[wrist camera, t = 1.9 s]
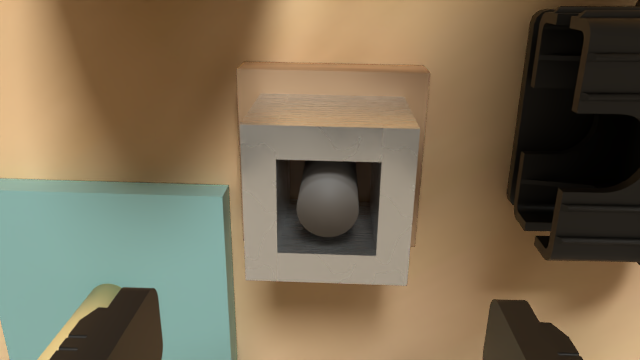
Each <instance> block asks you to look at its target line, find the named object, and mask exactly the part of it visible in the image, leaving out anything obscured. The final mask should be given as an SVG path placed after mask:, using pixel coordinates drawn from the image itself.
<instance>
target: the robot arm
mask: <svg viewBox="0 0 640 360" xmlns="http://www.w3.org/2000/svg"><path fill="white" fill-rule="evenodd" d="M162 353H163V338H162V328H161V319H160V310H159V300H158V294H157V291H156V289H155V288H136V287H123V288H121V290H120V291H119V292H118V294H117V295H116V296H115V298H114V299H113V300H112V302H111V303H110V305H109V306H108V307H107V308H105V307H98V308H97V309H95V310H94V311H92V312H91V313H89V314H88V315H86V316H85V317H83V318H82V319H80V320H79V322H78V323H77V324H76V326H75V327H74V328H73V329H72V331H71V332H70V333H69V335H68V338H65V340H64V341H63V342H62V344H61V345H60V346H59V350H56V351H55V353H54V354H53V355H52V357H51V358H50V359H49V360H161V359H162ZM483 360H583V359H582V357H581V356H579V352H578V351H577V349H576V348H575V346H574V345H573V343H572V342H571V340H570V339H569V337H568V336H567V335H565V334H564V333H563V332H562V331H560V330H559V329H558V328H557V327H555V326H554V325H553V324H551V323H544V322H539V320H538V319H537V317H536V315H535V314H534V312H533V310H532V308H531V307H530V305H529V303H528V302H527V301H525V300H496V299H494V300H492V302H491V304H490V309H489V316H488V323H487V329H486V336H485V343H484V350H483Z"/></svg>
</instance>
